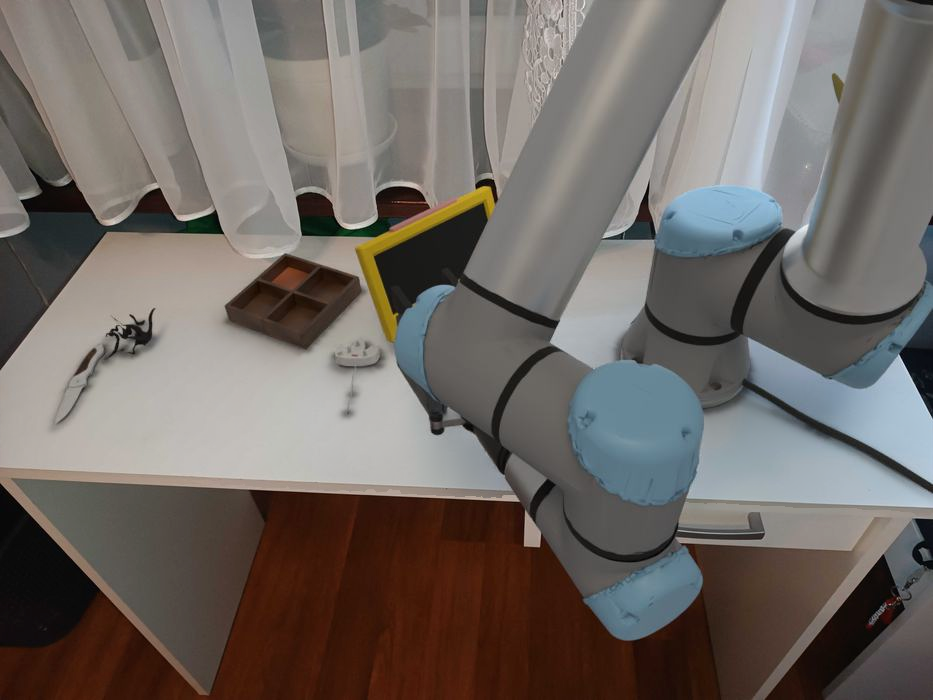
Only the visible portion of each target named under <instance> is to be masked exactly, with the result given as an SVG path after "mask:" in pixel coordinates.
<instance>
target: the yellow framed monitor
mask: <svg viewBox="0 0 933 700" xmlns="http://www.w3.org/2000/svg"><path fill="white" fill-rule="evenodd" d="M495 205H496V203H495V199H494V195H493V192H492V188H491V186H486V185H484V186H481V187H479V188H477V189H473V190H472V191H470V192H467V194H464V195H462V196H460V197H451V198H449V199H447V200H445V201H443V202H441V203H439V204H436V205H434V206H433V207H431V208H428V209H426V210H424V211H422V212H420V213H418V214H416V215H413V216H411V217H409V218H408V219H405V220H403V221H401V222H399V223H397V224H394V225H392V226H390V227H389V231H386V232H384V233H382V234H380V235H378V236H376V237H373V238H372V239H369V240H367V241H365V242H363V243H361V244H359V245H356V246H355V247H354V251H355V254H356V257H357V259H358V262H359V265H360V269H361V271H362V274H363V278H364V280H365V282H366V285H367V288H368V291H369V294H370V298H371V299H372V303H373V306H374V308H375V311H376V313H377V318H378V320H379V323H380V326H381V328H382V329H381V330H382V331H383V334H384V337H385V340H386V341H388V342H391V343H394V341H395V334H396V330H397V322H396V315H398V313H397V312H396V310H395V309H394V305H393V298H392V292H391V287H393V286H396V285H398V286H399V287H400V289H401V290H402V292H403V293H404V294H405V296H406V297H407V299H408V300H409V301H410V303H411V304H412V306H414V305H415V303H416V299H417V297H418V296H419V295H420V294H421V293H423V292H424V291H426V290H428V289H430V288H432V287H434V286H438V285H442V276H441V270H442V269H444V268H447V267H448V268H449V270H450V271H451V272H452V273H453V275H454V276H455V277H456V278H457V279H458V281H459V280H460V277H461V275H462V273H463V272H464V270H465V268H466V266H467V264H468V262H469V260H470V258H471V256H472V254H473V251H474V249H475V247H476V245H477V243H478V241H479V239H480V237H481V235H482V233H483V230H484V228H485V226H486V224H487V222H488V220H489V218H490V216H491V214H492V212H493V209H494V207H495Z"/></svg>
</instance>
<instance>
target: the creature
mask: <svg viewBox="0 0 933 700" xmlns="http://www.w3.org/2000/svg"><path fill="white" fill-rule="evenodd" d="M155 310H157V307H153V308H152V309H151V310H150V312H149V314H148V329H147V331H144V330H143V329H142V327H141V326H144V324H145V322H146V320H145V319H144V320H142V321H138V320H137V318H136V317H135V316H134V315H133V314H131V313H129V314H128V316H129V317H130V318H131V319H132V320H133V321H134V324H133V323H126V324H123V323H121V325H120V324H119V323H120V321H119V320H117V318H115V317H113V316H112V315H109V316H110V317H111V318H112V319H114V321H115V322H116V323H117V324H116V325H115V327H114V328H110V331H109V332H106V333H105V338H107V337H108V336H109V337H111V338H113V337H115V339H116V342H115V345H114V349H113V350H112V351H111V353H110V354H108V355H106V356H105V357H104V361H106V360H109V359H110V358H111V357H113V356H114V355H115V354H117V353H118V352H120V351H123V353H124V354H130V355H135V354H136V351H135V349H136V347H137V346H141V345H143V346H144V347H146V345H147V344H149V342H150V341H151V340H152V338H153V314H154V311H155ZM119 327H120V328H121V330H122V333H121V332H120V331H119ZM124 327H125V328H124ZM133 331H134V332H135V333H134V335H133ZM132 335H133V336H132ZM120 339H122V340H128V339H132V340H134V345H133V347H132V348H131V350H132V352H131V351H127V352H125V351H124V350H125V348H124V347H123V348H121V349H119V347H120Z"/></svg>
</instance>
